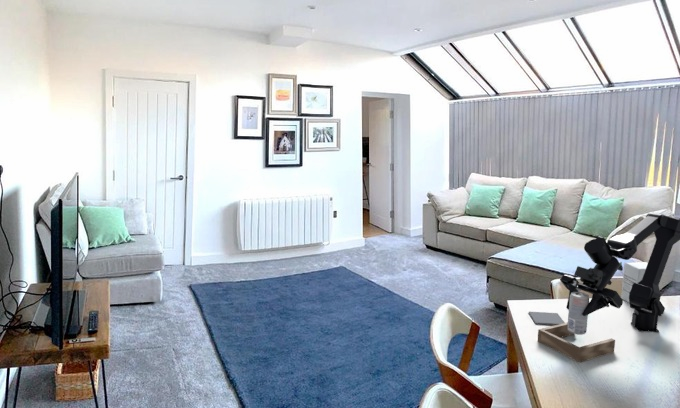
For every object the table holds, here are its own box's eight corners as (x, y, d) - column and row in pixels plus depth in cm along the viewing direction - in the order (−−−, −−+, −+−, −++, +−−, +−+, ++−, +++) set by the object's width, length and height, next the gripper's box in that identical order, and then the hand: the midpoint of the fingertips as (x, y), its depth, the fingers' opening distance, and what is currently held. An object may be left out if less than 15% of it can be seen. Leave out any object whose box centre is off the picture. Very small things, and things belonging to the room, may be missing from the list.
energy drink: (582, 328, 153) (585, 291, 151) (589, 335, 148) (592, 298, 146) (564, 327, 154) (567, 291, 152) (570, 334, 149) (573, 297, 147)
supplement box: (641, 297, 194) (645, 261, 192) (657, 306, 186) (662, 268, 183) (620, 298, 194) (623, 261, 191) (634, 306, 185) (639, 268, 182)
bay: (571, 332, 162) (572, 321, 161) (613, 352, 148) (615, 339, 147) (537, 341, 156) (538, 329, 155) (578, 362, 142) (580, 349, 141)
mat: (557, 314, 177) (557, 313, 177) (565, 325, 167) (565, 324, 167) (528, 313, 178) (528, 311, 178) (535, 324, 169) (535, 322, 168)
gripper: (566, 250, 157) (538, 287, 154) (620, 265, 140) (590, 308, 138) (581, 270, 162) (555, 307, 159) (635, 287, 145) (607, 329, 142)
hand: (575, 312), depth 149 cm, fingers closed on energy drink, 5 cm apart
